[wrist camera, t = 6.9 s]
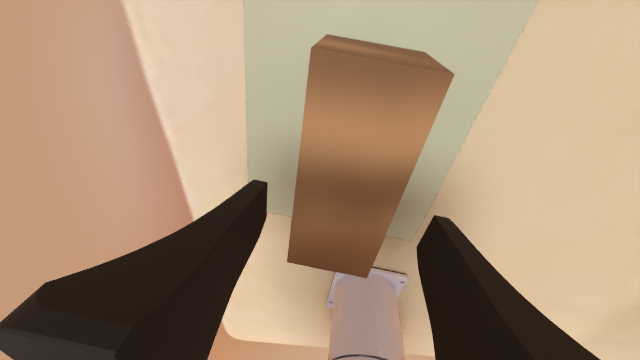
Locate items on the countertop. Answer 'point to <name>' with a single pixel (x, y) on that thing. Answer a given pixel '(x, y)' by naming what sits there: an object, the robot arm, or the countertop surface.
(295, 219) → the shelf block
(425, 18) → the peg base
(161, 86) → the countertop surface
